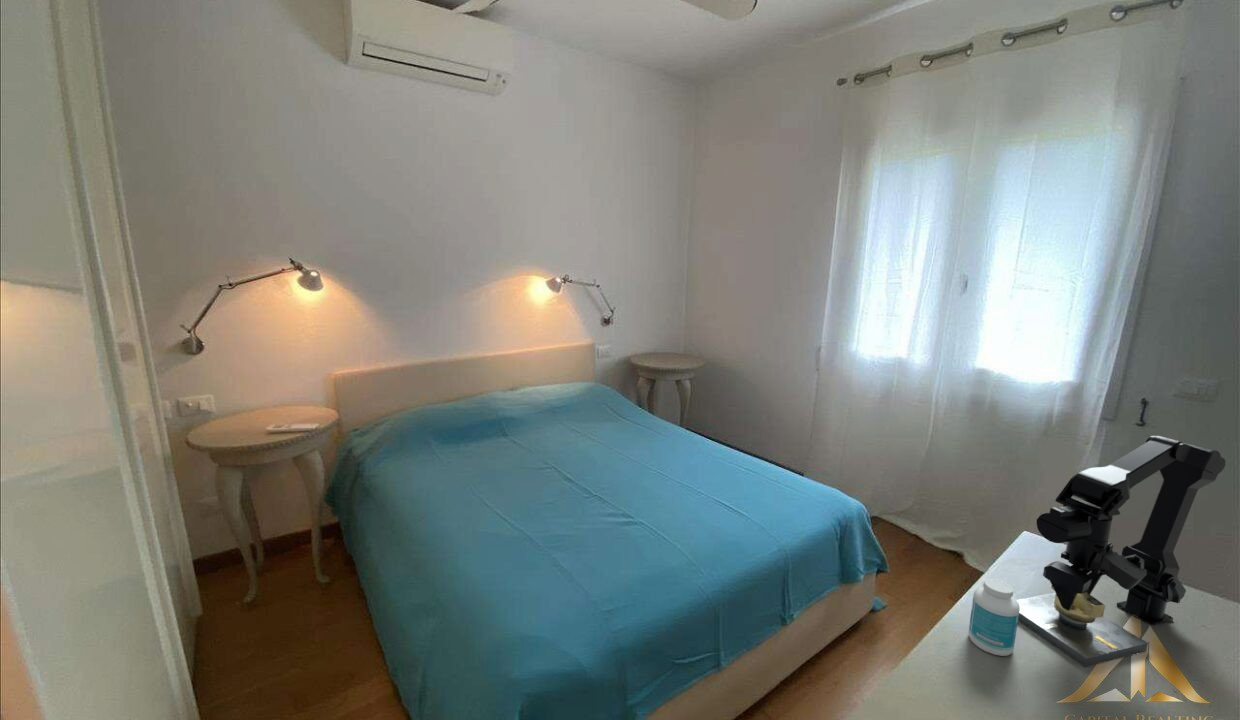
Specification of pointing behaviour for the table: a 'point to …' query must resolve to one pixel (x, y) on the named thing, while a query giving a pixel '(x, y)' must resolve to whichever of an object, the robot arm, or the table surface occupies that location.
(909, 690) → the table surface
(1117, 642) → the lock base
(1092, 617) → the brass lock knob
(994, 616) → the pill bottle
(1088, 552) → the robot arm
